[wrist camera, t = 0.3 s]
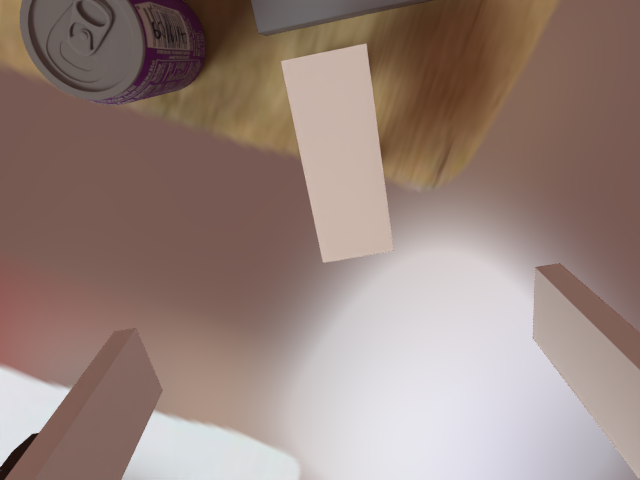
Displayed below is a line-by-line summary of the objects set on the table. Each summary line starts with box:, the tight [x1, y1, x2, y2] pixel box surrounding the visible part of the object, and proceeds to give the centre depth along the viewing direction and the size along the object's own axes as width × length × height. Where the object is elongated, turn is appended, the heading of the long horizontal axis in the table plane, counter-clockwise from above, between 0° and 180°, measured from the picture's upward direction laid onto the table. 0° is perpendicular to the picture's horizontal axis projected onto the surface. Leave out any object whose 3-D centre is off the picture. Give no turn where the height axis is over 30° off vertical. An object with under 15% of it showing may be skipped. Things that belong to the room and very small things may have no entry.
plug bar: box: [281, 44, 393, 263], centre depth 30 cm, size 12×4×12 cm, turn 11°
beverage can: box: [20, 0, 206, 105], centre depth 27 cm, size 7×7×12 cm
